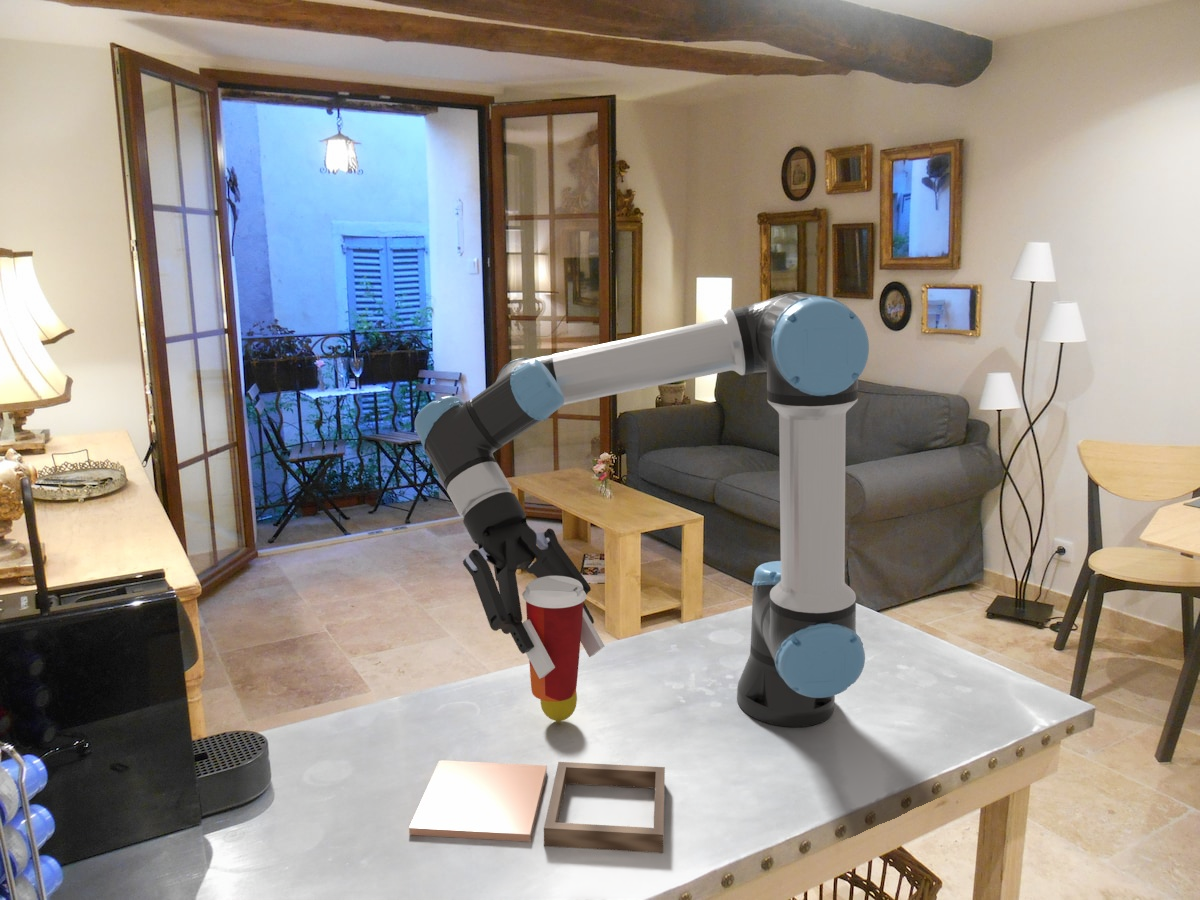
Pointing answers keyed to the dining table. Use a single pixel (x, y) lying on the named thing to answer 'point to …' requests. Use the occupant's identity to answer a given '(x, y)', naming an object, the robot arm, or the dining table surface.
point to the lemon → (559, 708)
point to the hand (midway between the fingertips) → (572, 662)
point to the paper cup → (556, 632)
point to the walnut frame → (605, 834)
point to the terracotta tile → (480, 801)
